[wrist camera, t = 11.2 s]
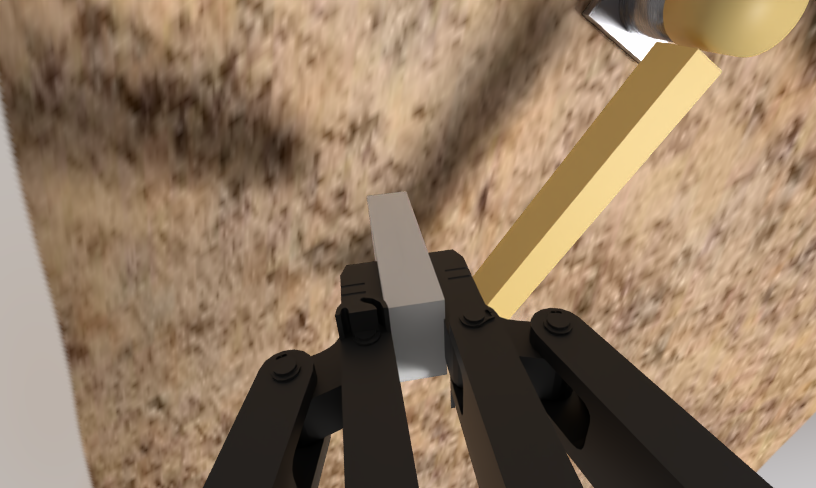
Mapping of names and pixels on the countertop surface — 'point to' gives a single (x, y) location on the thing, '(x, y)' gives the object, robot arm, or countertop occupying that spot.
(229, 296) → the countertop surface
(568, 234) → the yellow handle
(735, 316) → the countertop surface
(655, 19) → the post
